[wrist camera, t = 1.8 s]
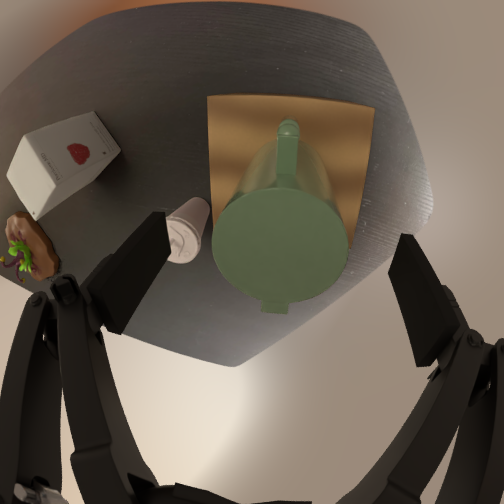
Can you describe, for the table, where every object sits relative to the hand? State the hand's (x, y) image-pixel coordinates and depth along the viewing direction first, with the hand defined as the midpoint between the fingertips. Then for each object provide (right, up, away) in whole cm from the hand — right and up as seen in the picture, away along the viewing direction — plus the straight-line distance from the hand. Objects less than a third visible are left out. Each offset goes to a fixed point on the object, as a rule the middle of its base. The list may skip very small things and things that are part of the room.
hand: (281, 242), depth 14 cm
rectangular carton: (-27, +17, +22) cm, 39 cm away
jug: (+2, +6, +9) cm, 11 cm away
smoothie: (-10, +6, +26) cm, 28 cm away
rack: (+3, +13, +18) cm, 23 cm away
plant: (-58, +2, +38) cm, 69 cm away
